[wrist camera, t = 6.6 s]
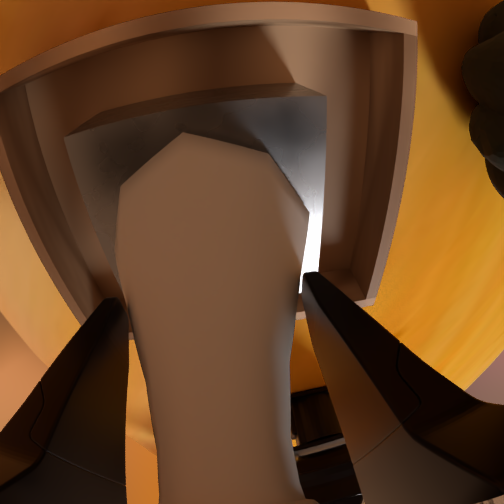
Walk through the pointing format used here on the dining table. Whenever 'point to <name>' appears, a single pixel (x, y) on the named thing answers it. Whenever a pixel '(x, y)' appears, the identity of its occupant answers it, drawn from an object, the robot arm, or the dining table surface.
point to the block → (210, 126)
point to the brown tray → (211, 77)
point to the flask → (215, 317)
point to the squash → (488, 93)
